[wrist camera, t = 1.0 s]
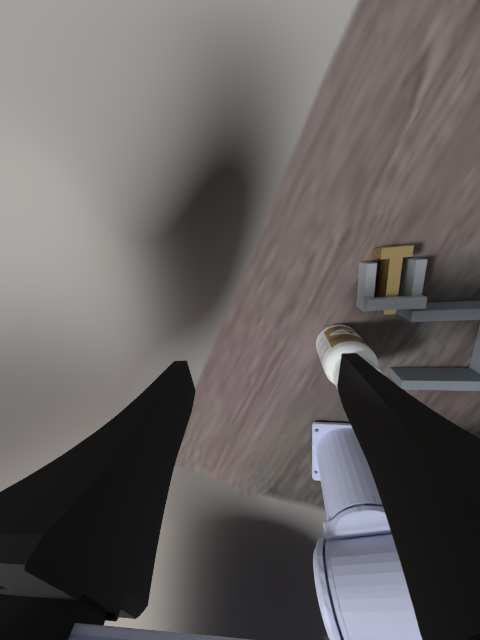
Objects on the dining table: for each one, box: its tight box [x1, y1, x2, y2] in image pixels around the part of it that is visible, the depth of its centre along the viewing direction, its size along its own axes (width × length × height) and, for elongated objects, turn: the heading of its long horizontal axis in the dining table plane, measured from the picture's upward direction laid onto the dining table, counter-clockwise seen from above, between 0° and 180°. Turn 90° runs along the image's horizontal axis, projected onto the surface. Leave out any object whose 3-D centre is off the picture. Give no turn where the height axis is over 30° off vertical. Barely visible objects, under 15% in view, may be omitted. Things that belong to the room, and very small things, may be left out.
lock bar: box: [373, 245, 414, 315], centre depth 20 cm, size 6×2×2 cm, turn 5°
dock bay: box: [356, 258, 480, 391], centre depth 21 cm, size 12×12×3 cm
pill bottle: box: [316, 325, 383, 389], centre depth 20 cm, size 4×4×8 cm
